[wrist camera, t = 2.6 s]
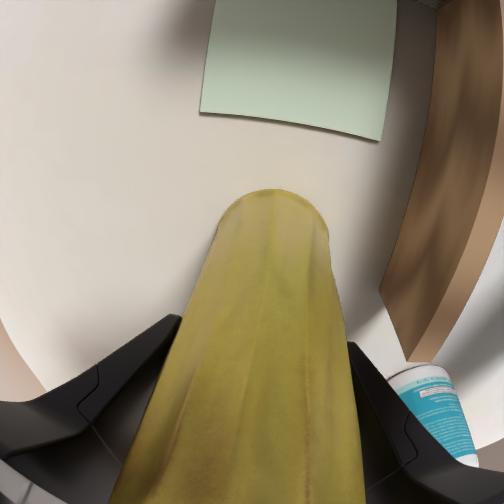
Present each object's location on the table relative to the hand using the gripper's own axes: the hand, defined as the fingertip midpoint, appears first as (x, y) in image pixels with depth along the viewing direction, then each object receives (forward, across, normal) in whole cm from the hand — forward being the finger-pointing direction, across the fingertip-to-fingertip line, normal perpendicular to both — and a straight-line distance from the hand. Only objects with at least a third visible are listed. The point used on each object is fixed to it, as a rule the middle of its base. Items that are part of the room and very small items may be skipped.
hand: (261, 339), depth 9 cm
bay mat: (+8, 0, -11) cm, 13 cm away
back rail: (+8, -8, -8) cm, 14 cm away
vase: (+8, 0, 0) cm, 8 cm away
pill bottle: (+8, -15, +12) cm, 20 cm away
